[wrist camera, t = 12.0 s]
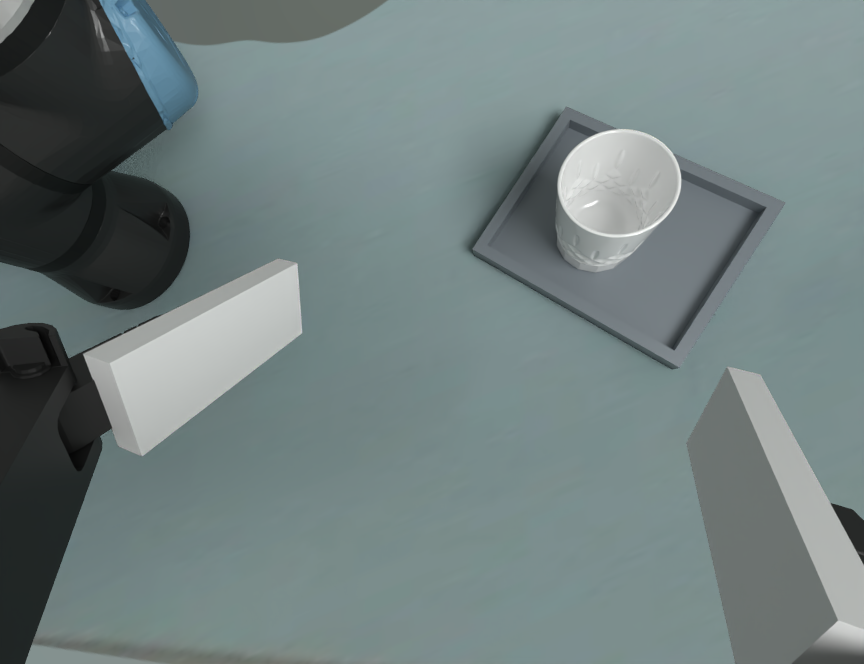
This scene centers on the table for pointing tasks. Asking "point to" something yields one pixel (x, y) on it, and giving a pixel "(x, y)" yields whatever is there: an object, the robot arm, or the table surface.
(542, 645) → the table surface
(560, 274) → the tray
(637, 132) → the white cup
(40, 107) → the robot arm
